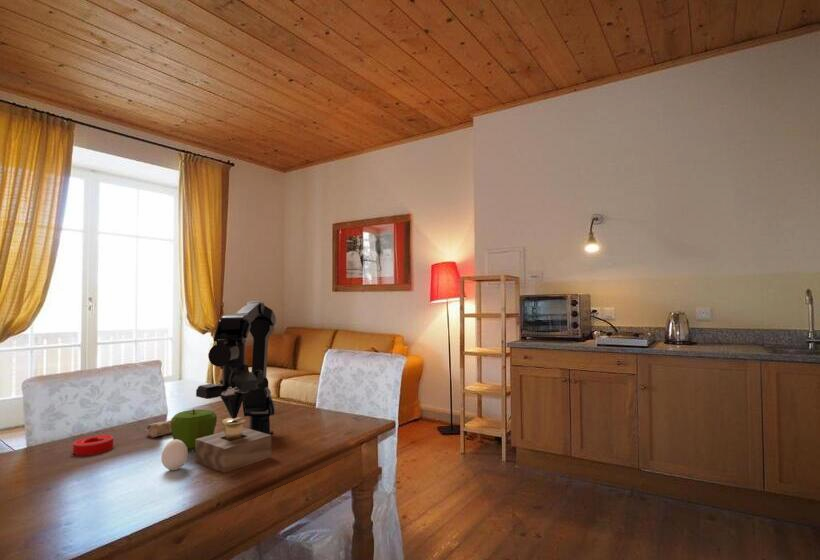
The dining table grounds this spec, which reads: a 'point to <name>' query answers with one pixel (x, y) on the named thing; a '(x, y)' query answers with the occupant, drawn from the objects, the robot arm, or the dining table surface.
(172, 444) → the egg
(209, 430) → the apple
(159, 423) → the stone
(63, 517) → the dining table surface
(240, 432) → the peg
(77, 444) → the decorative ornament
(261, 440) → the socket block
